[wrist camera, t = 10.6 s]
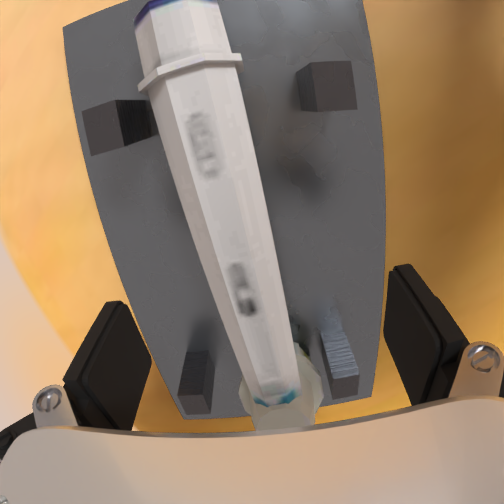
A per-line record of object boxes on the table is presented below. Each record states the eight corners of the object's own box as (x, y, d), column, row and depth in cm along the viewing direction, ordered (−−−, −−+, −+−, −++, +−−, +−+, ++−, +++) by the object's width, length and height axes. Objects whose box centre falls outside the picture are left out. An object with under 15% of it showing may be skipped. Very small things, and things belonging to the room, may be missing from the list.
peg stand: (70, 29, 13) (22, 16, 9) (349, -24, 12) (380, -59, 8) (185, 410, 26) (177, 457, 21) (368, 388, 25) (383, 433, 20)
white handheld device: (229, -27, 9) (336, 462, 16) (239, 28, 15) (322, 394, 22) (103, 16, 9) (251, 476, 16) (152, 54, 16) (253, 406, 23)
